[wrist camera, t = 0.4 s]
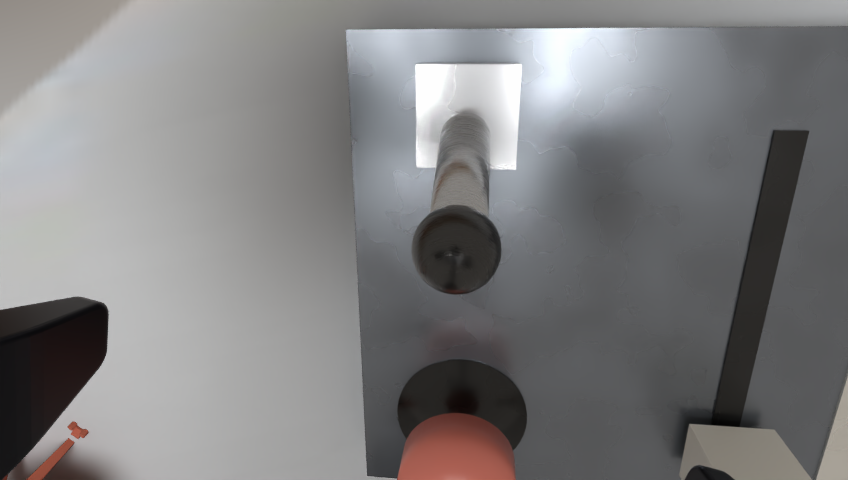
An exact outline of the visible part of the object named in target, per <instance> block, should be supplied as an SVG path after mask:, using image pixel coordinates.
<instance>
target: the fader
mask: <svg viewBox="0 0 848 480" xmlns="http://www.w3.org/2000/svg"><path fill="white" fill-rule="evenodd" d="M696 465H702V466H706V467H710V468H714V469H717V470H721V471H724V472H726V473H727V474H729V475H730V476H731V477H732V478H733V479H735V480H812V479H811V478H810V476H809V475H808V474H807V472H806V471H805V470H804V468H803V467H802V466H801V464H800V463H799V462H798V460H797V459H796V458H795V456H794V455H793V454H792V452H791V451H790V450H789V448H788V447H787V446H786V444H785V443H784V442H783V440H782V439H781V438H780V436H779V435H778V434H777V432H776V431H775V430H773V429H758V428H743V427H729V426H714V425H699V424H689V427H688V432H687V437H686V442H685V448H684V453H683V458H682V463H681V468H680V473H679V476H680V478H681V480H685V478H686V476H687V474H688V472H689V471H690V469H691V468H692V467H694V466H696Z"/></svg>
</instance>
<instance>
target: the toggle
mask: <svg viewBox="0 0 848 480" xmlns="http://www.w3.org/2000/svg"><path fill="white" fill-rule="evenodd" d="M489 182H490V130H489V127H488V125H487V124H486V122H485V121H484V120H483V118H481V117H480V116H479V115H477V114H474V113H471V112H461V113H457V114H455V115H453V116H451V117H450V118H449V119H448V120H447V121H446V122H445V124H444V125H443V128H442V131H441V135H440V142H439V149H438V156H437V164H436V171H435V178H434V185H433V192H432V200H431V207H430V214H428V215H427V216H426V217H425V218H424V219H423V220H422V221H421V223H420V224H419V225H418V227H417V229H416V231H415V233H414V236H413V240H412V248H411V252H412V259H413V263H414V266H415V268H416V270H417V272H418V274H419V275H420V277H421V278H422V279H423V280H424V281H425V282H426V283H427V284H428V285H429V286H431V287H432V288H434V289H435V290H438V291H440V292H443V293H446V294H452V295H461V294H467V293H471V292H473V291H476V290H478V289H479V288H481V287H483V286H484V285H485V284H486V283H487V282H488V281H490V279H491V278H492V277H493V276H494V274H495V272H496V271H497V269H498V266H499V263H500V260H501V253H502V247H501V240H500V236H499V233H498V231H497V229H496V227H495V225H494V224H493V223H492V221H491V220H490V219H489Z"/></svg>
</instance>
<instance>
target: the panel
mask: <svg viewBox="0 0 848 480" xmlns="http://www.w3.org/2000/svg"><path fill="white" fill-rule="evenodd" d="M346 42H347V63H348V84H349V105H350V126H351V147H352V168H353V189H354V210H355V230H356V251H357V272H358V293H359V314H360V335H361V356H362V377H363V398H364V419H365V440H366V461H367V476H374V477H386V478H398V474H399V469H400V464H401V459H402V454H403V450H404V445H405V442H406V440H407V438H408V436H409V434H410V433H411V432H412V430H413V429H414V428H415V427H416V426H417V425H419V424H420V423H421V422H423V421H425V420H427V419H429V418H431V417H434V416H437V415H441V414H447V413H462V414H469V415H473V416H476V417H479V418H482V419H484V420H486V421H488V422H490V423H491V424H493V425H494V426H495V427H497V428H498V429H499V430H500V431H501V432H502V433H503V434H504V435H505V436H506V438H507V439H508V441H509V443H510V445H511V447H512V449H513V453H514V459H515V475H516V480H681V478H680V476H679V473H680V468H681V463H682V458H683V453H684V448H685V442H686V437H687V432H688V427H689V424H699V425H714V426H729V427H743V428H758V429H773V430H775V431H776V432H777V434H778V435H779V436H780V438H781V439H782V440H783V442H784V443H785V444H786V446H787V447H788V448H789V450H790V451H791V452H792V454H793V455H794V456H795V458H796V459H797V460H798V462H799V463H800V464H801V466H802V467H803V468H804V470H805V471H806V472H807V474H808V475H809V476H810V478H811V479H812V480H848V26H842V27H680V28H518V29H357V30H346ZM461 112H471V113H474V114H477V115H479V116H480V117H481V118H483V120H484V121H485V122H486V124H487V125H488V127H489V130H490V182H489V219H490V220H491V221H492V223H493V224H494V225H495V227H496V229H497V231H498V233H499V236H500V240H501V247H502V253H501V260H500V263H499V266H498V269H497V271H496V272H495V274H494V276H493V277H492V278H491V279H490V281H488V282H487V283H486V284H485V285H484V286H483V287H481V288H479V289H478V290H476V291H473V292H471V293H467V294H461V295H452V294H446V293H443V292H440V291H438V290H435V289H434V288H432V287H431V286H429V285H428V284H427V283H426V282H425V281H424V280H423V279H422V278H421V277H420V275H419V274H418V272H417V270H416V268H415V266H414V263H413V259H412V252H411V248H412V240H413V236H414V233H415V231H416V229H417V227H418V225H419V224H420V223H421V221H422V220H423V219H424V218H425V217H426V216H427V215H428V214H430V207H431V200H432V192H433V185H434V178H435V171H436V164H437V156H438V149H439V142H440V135H441V131H442V128H443V125H444V124H445V122H446V121H447V120H448V119H449V118H450V117H451V116H453V115H455V114H457V113H461Z"/></svg>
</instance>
